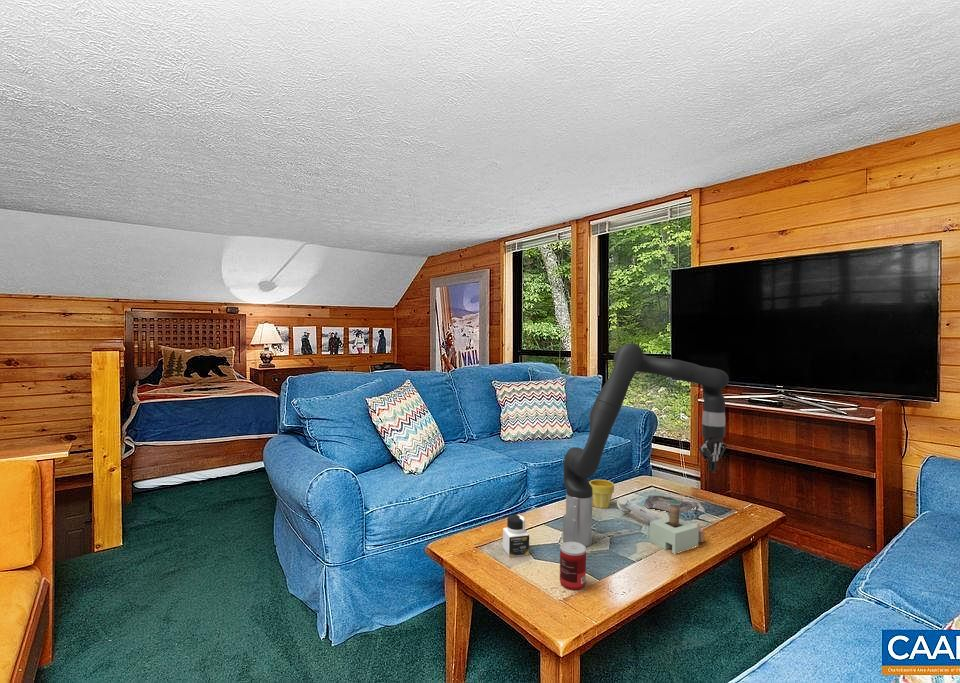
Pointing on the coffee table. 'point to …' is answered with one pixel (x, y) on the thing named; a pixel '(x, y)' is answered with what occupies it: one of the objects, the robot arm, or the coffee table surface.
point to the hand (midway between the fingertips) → (712, 470)
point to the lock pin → (701, 535)
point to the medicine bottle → (515, 537)
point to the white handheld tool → (636, 509)
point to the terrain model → (668, 503)
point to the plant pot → (602, 492)
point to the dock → (673, 535)
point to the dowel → (674, 516)
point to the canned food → (572, 565)
